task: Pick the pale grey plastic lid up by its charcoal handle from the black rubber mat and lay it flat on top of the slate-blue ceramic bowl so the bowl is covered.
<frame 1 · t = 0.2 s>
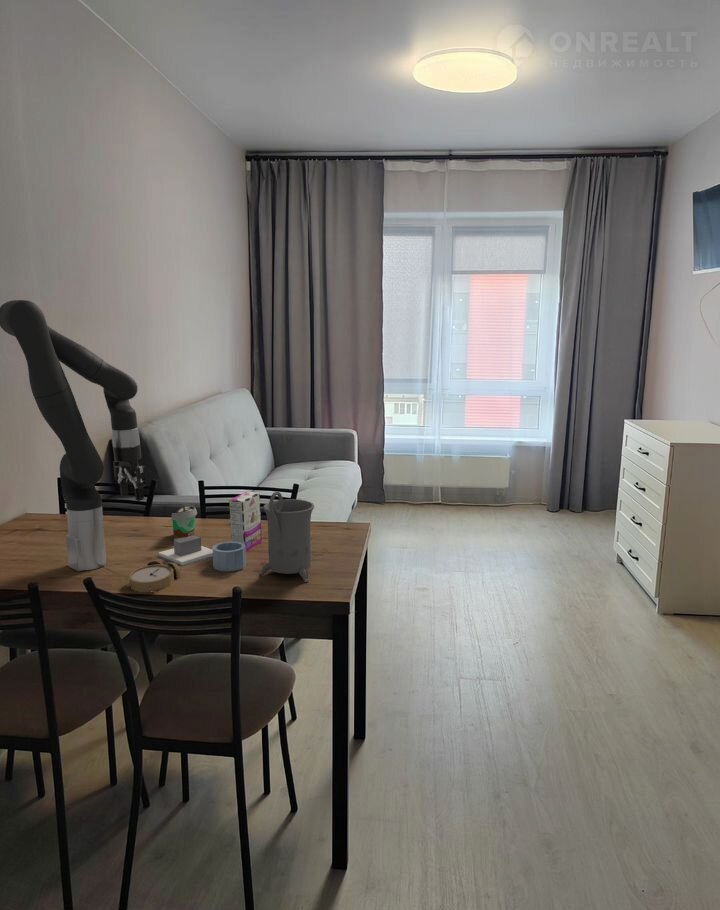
hand: (132, 497, 199), 17 cm above the table, tool pointing down, fingers open, 8 cm apart
alarm clock: (156, 583, 180), on the table
bowl: (229, 566, 191), on the table
lid: (188, 555, 200), resting on mat
mat: (188, 556, 200), on the table
candy bar box: (246, 548, 208), on the table
grey footed pot: (288, 575, 185), on the table
food container: (188, 539, 217), on the table
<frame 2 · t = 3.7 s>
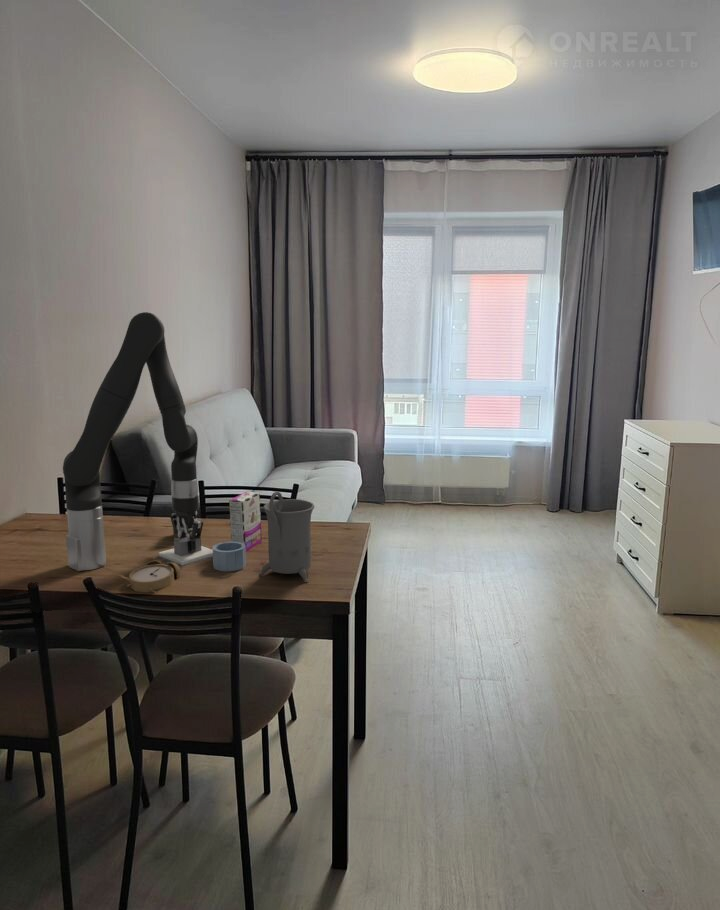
hand: (188, 550, 199), 2 cm above the table, tool pointing down, fingers closed on lid, 3 cm apart
lid: (188, 555, 200), point 1 cm above the table, touching gripper, mat
everything else where it was.
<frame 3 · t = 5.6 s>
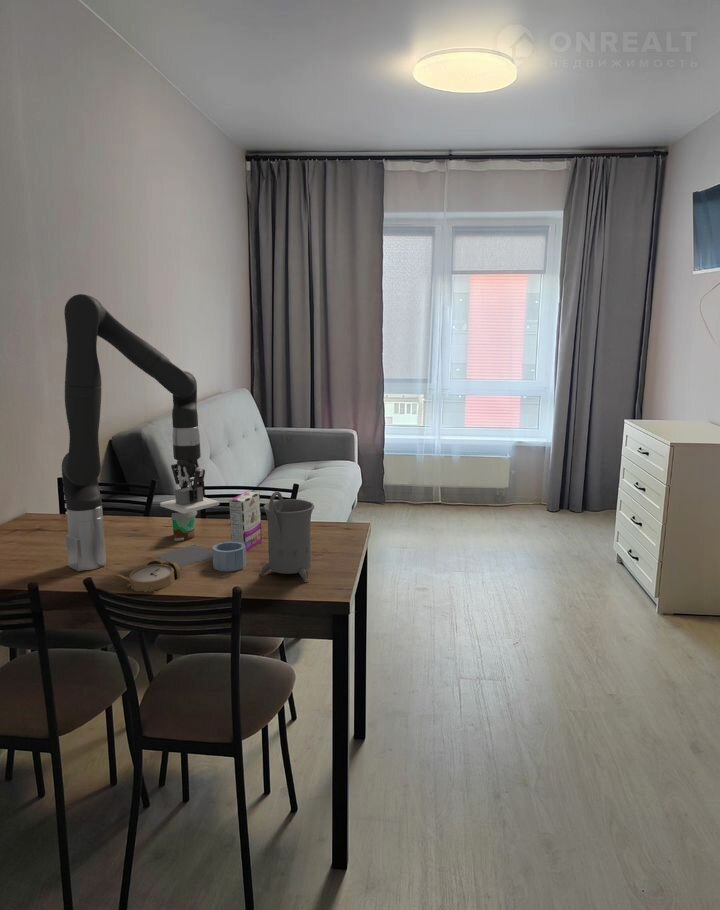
hand: (189, 500, 196), 17 cm above the table, tool pointing down, fingers closed on lid, 3 cm apart
lid: (189, 505, 196), point 16 cm above the table, touching gripper
everything else where it was.
when the fingers open (9 cm above the table, at t = 7.9 s): lid drops 1 cm, resting on bowl.
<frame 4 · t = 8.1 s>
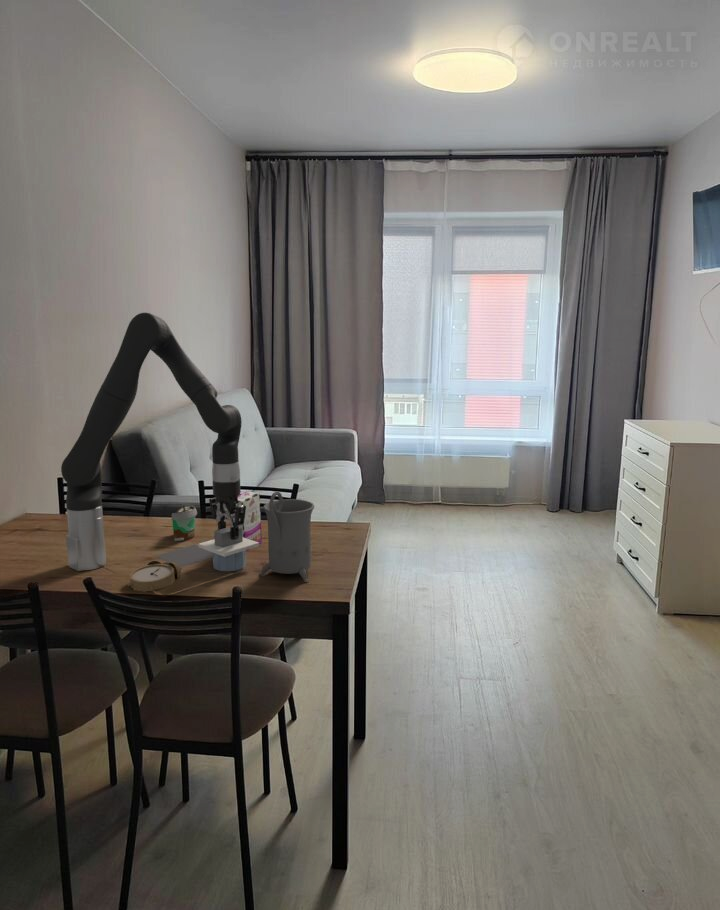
hand: (228, 536, 190), 9 cm above the table, tool pointing down, fingers open, 5 cm apart
lid: (228, 546, 190), point 6 cm above the table, touching bowl
everything else where it was.
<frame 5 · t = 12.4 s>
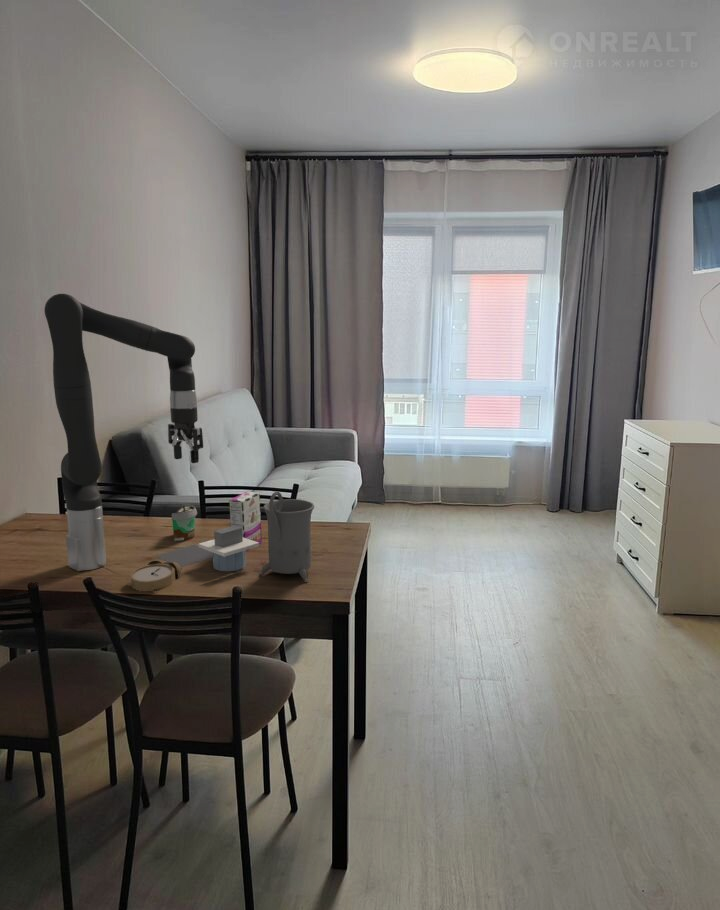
hand: (186, 460, 199), 28 cm above the table, tool pointing down, fingers open, 8 cm apart
nothing on the table moved.
at the end: lid 0.1 cm off-centre on the bowl, point 6.0 cm above the bowl's base; lid tilted 0°; the gripper is holding nothing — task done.
